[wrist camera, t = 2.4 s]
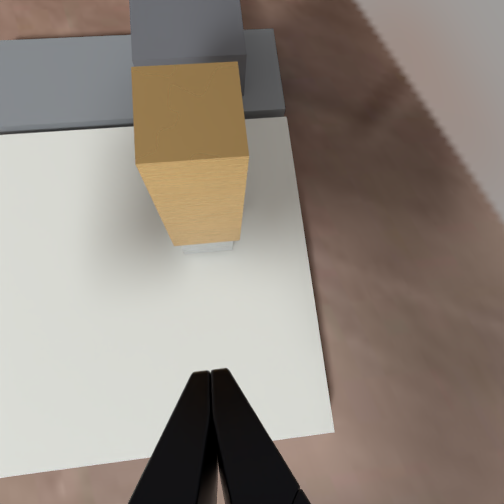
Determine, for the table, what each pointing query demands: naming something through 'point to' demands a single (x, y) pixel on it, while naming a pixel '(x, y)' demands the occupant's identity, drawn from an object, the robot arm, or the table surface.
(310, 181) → the table surface
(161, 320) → the white board
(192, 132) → the tan square block
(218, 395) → the robot arm
